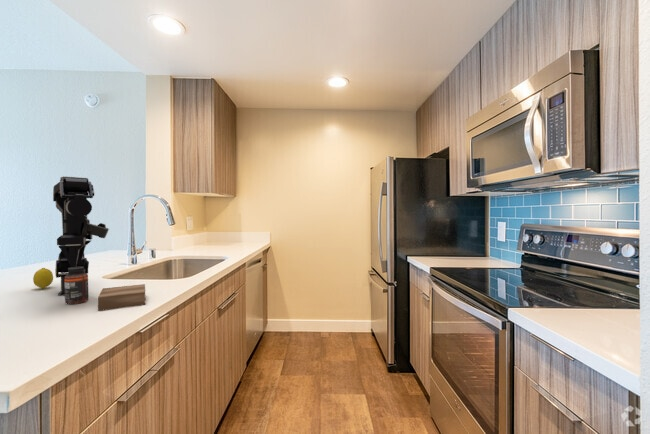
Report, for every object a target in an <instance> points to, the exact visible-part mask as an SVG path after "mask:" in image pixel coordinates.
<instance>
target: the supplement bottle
mask: <svg viewBox="0 0 650 434" xmlns="http://www.w3.org/2000/svg"><path fill="white" fill-rule="evenodd" d="M67 273H68V275H66V276H65V294H64V302H65V304H66V305H78V304H83V303H86V302H87V301H88V300H89V273H88V274H87V273H85V272H84V267H71V268H68V272H67Z"/></svg>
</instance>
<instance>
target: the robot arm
mask: <svg viewBox="0 0 650 434" xmlns="http://www.w3.org/2000/svg"><path fill="white" fill-rule="evenodd" d="M94 197H95V189H94V185H93V184H92V182H91V181H89V178H87V177H77V176H74V177H73V176H63V175H62V176H61V177H60V179H59V182H58V183H56V184H55V185H54V186H53V192H52V201H53V202H55V208H56V209H57V210H58V211H59V212H60V213H61V225H62V226H61V228H62V234H61V235H59V237H57V239H56V246H58V248H59V249H60V252H59V254H58V258H57V260H55V278H57V279H58V278H60V291H58V293H57V295H58V296H60V295H65V276H66V275H68V268H71V267H84V272H85V273H87V274H88V275H89V266H90V265H89V264H90V261H89V260H88V258H87V257H85V249H86V247H87V245H88V244H90V243H91V242H92V240H93V236H96V237H98V238H100V239H105V238H106V237H107V234H108V232H109V230H110V228H108V227H107V226H106V224H105V223H102V222H100V223H99V224H97V225H96V224H92V223H90V220H89V218H88V215H89V214H90V213H91V212H92V210H93V205H92V203H91V202H90V201H89V200H88V199H94Z"/></svg>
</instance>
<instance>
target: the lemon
mask: <svg viewBox="0 0 650 434" xmlns="http://www.w3.org/2000/svg"><path fill="white" fill-rule="evenodd" d="M32 279H33V280H32V281H33V285H35V287H38V288H40V289H41V290H44V289H46V288H47V287H49V286H50V285H51V284H52V283H53V281H54V274H53V272H52V271H51V269H49V268H46V267H42V268H40V269H38V270H36V271H35V272H34V274H33V278H32Z"/></svg>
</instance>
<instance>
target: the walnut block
mask: <svg viewBox="0 0 650 434" xmlns="http://www.w3.org/2000/svg"><path fill="white" fill-rule="evenodd" d="M144 305H146V284H145V283H143V284H134V285H124V286H114V287H106V288H105V287H104V288H102V289H101V291H100V293H99V294H98V297H97V312H101V311H102V312H103V311H109V310H117V309H123V308H131V307H137V306H144Z"/></svg>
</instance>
